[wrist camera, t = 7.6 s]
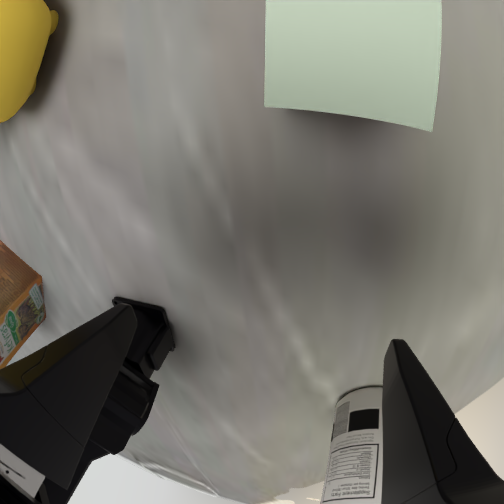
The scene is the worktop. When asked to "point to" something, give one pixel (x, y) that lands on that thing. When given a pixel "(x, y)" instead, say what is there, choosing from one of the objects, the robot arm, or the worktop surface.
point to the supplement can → (356, 450)
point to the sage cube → (355, 58)
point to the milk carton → (18, 303)
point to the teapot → (22, 50)
